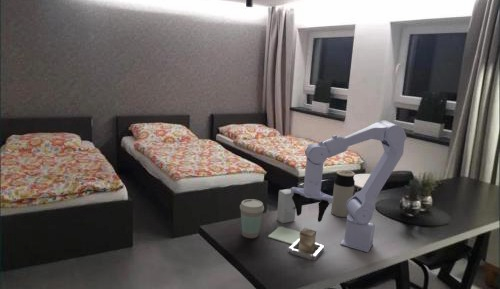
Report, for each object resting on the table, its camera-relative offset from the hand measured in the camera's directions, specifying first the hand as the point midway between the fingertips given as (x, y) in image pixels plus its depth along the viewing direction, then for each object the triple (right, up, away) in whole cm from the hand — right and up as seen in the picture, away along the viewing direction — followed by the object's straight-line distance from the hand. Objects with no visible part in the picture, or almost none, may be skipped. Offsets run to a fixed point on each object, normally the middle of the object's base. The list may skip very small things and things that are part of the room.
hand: (309, 217), depth 129 cm
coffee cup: (-20, -7, +6) cm, 22 cm away
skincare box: (-6, -5, +20) cm, 21 cm away
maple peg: (-2, -10, -3) cm, 11 cm away
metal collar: (-2, -10, -3) cm, 11 cm away
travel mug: (+18, -4, +29) cm, 34 cm away
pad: (-7, -8, +7) cm, 12 cm away
